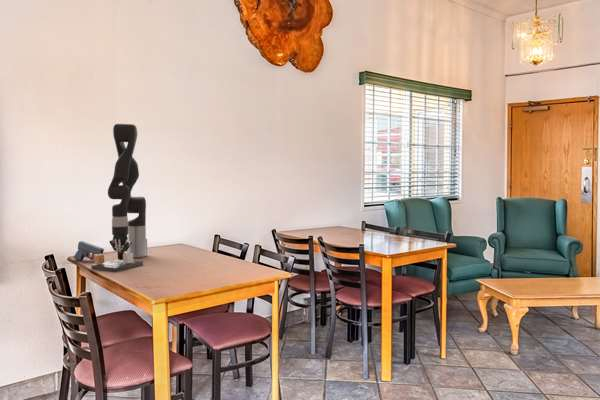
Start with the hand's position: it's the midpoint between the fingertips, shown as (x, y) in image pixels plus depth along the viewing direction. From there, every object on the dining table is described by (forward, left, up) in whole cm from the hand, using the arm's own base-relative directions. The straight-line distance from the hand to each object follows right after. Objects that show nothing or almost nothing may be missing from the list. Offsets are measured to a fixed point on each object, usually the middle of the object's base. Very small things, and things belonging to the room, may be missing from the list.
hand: (120, 259), depth 241 cm
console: (+2, 0, -4) cm, 4 cm away
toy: (-4, -27, -4) cm, 28 cm away
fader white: (0, +5, -1) cm, 5 cm away
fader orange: (+8, -6, -1) cm, 10 cm away
